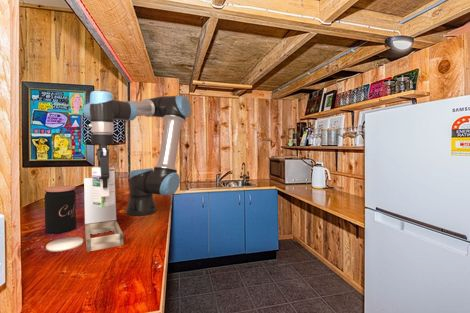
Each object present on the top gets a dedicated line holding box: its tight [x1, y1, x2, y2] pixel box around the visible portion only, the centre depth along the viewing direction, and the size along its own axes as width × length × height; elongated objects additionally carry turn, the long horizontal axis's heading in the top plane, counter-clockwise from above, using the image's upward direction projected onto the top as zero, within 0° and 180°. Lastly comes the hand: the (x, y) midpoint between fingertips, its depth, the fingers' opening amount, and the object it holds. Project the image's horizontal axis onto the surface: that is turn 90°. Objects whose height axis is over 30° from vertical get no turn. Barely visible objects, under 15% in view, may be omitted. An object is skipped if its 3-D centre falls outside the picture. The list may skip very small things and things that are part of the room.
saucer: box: [45, 236, 84, 252], centre depth 90 cm, size 11×11×1 cm
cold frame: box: [84, 220, 124, 252], centre depth 96 cm, size 11×18×4 cm, turn 32°
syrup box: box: [91, 166, 116, 207], centre depth 95 cm, size 6×6×14 cm
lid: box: [83, 177, 117, 225], centre depth 105 cm, size 11×18×1 cm
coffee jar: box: [43, 185, 77, 235], centre depth 105 cm, size 11×11×18 cm
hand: (103, 194), depth 95 cm, fingers closed on syrup box, 8 cm apart
